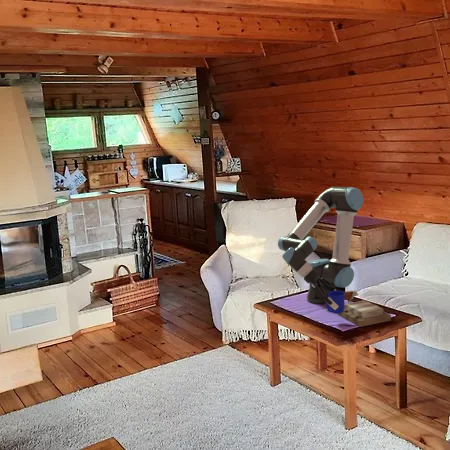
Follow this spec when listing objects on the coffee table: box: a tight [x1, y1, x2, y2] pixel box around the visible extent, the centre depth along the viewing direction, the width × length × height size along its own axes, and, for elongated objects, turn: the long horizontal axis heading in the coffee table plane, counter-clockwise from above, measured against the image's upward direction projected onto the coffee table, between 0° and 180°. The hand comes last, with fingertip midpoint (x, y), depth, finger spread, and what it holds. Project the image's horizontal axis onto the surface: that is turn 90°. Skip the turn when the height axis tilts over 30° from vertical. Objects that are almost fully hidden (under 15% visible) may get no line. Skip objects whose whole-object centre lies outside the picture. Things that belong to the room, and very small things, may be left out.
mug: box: [325, 290, 346, 315], centre depth 281 cm, size 8×12×10 cm
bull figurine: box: [343, 289, 359, 304], centre depth 309 cm, size 4×13×8 cm, turn 78°
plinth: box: [337, 299, 392, 328], centre depth 287 cm, size 20×18×6 cm
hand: (339, 304), depth 280 cm, fingers closed on mug, 11 cm apart
